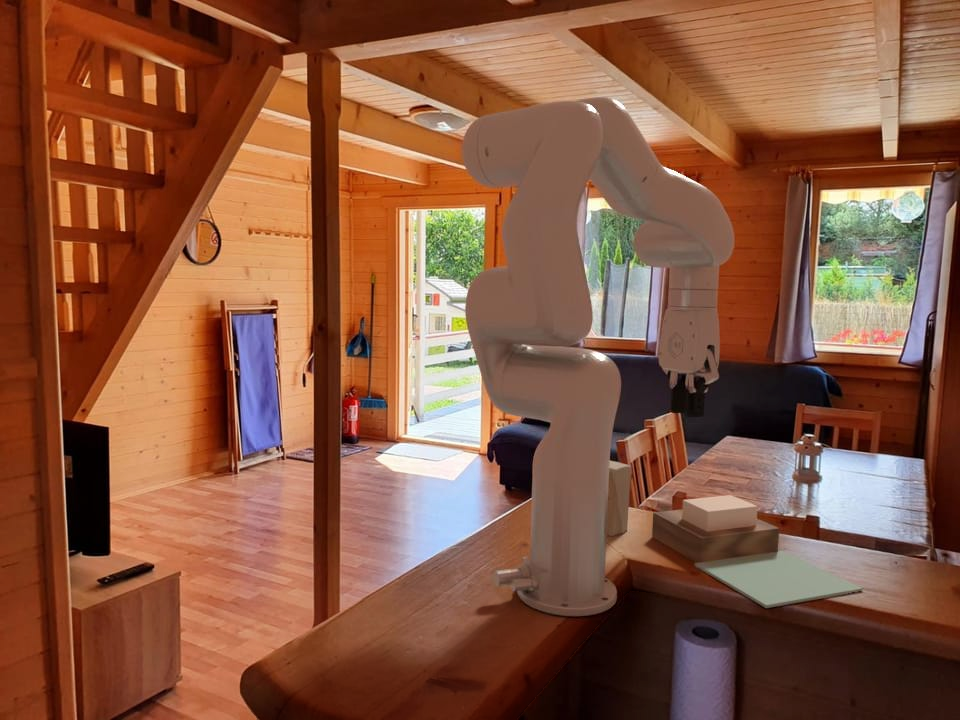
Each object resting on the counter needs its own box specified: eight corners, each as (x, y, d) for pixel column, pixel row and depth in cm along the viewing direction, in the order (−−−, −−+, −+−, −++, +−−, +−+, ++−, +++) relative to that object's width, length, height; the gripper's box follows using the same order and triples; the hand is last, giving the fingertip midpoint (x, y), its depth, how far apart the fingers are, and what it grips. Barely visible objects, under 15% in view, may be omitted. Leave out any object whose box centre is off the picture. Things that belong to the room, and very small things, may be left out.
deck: (700, 565, 101) (701, 538, 100) (652, 537, 112) (653, 512, 112) (777, 554, 106) (779, 528, 105) (723, 528, 117) (725, 504, 116)
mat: (766, 608, 87) (766, 605, 87) (694, 566, 100) (694, 563, 100) (862, 591, 93) (862, 588, 93) (782, 553, 106) (783, 550, 106)
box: (587, 528, 115) (589, 462, 114) (603, 523, 118) (605, 458, 117) (613, 537, 111) (616, 468, 110) (629, 531, 114) (632, 464, 113)
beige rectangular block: (707, 531, 103) (708, 511, 103) (681, 518, 109) (682, 499, 108) (756, 525, 106) (757, 506, 106) (729, 513, 112) (730, 495, 112)
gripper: (643, 299, 119) (638, 407, 121) (706, 302, 104) (700, 425, 105) (680, 300, 121) (675, 405, 123) (747, 302, 106) (740, 423, 108)
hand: (686, 413), depth 114 cm, fingers open, 3 cm apart
